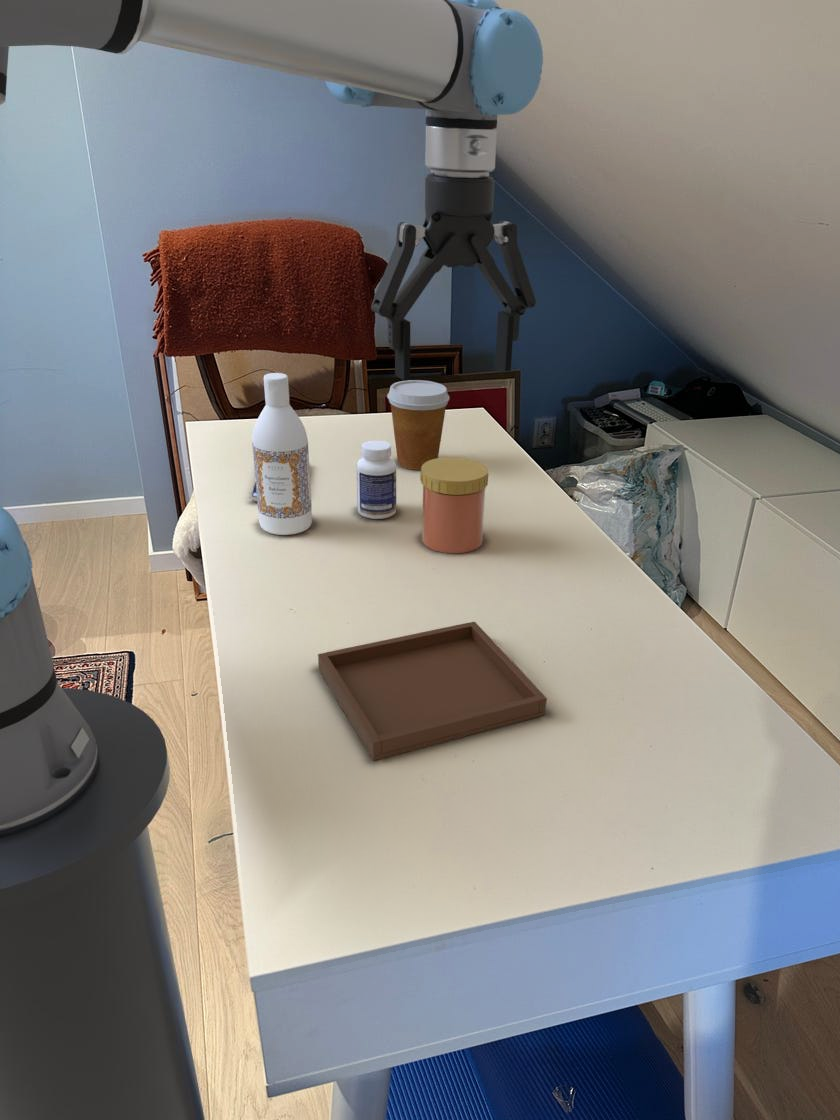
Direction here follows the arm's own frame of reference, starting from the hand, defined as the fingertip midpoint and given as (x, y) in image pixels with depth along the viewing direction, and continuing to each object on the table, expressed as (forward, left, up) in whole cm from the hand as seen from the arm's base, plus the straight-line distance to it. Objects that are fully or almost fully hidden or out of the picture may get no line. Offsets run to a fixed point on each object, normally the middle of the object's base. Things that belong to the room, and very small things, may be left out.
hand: (453, 373), depth 107 cm
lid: (0, -1, -12) cm, 12 cm away
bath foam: (-19, +11, -22) cm, 31 cm away
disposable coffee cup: (+7, +27, -22) cm, 36 cm away
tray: (-17, -32, -22) cm, 42 cm away
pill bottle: (-6, +11, -22) cm, 26 cm away
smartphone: (-15, +26, -22) cm, 38 cm away
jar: (0, -1, -22) cm, 22 cm away
